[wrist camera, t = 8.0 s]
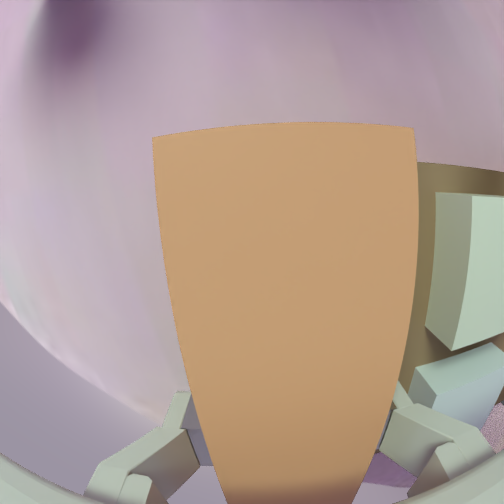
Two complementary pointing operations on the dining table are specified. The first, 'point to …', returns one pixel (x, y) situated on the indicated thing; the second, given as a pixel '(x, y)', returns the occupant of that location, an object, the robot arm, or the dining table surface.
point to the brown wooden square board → (430, 181)
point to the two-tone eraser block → (290, 295)
